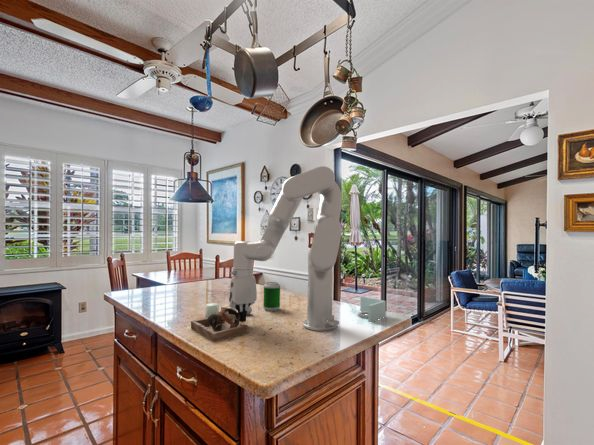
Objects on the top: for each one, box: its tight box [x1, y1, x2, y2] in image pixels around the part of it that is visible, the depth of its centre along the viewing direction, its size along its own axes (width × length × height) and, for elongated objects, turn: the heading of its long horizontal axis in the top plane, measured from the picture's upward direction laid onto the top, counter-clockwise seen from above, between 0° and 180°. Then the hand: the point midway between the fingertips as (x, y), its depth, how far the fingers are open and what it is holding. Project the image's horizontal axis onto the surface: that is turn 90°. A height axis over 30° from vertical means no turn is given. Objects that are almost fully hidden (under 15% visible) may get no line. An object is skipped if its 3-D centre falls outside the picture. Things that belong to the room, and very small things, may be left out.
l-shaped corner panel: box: [357, 295, 387, 323], centre depth 131 cm, size 12×12×8 cm
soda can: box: [262, 281, 281, 312], centre depth 140 cm, size 8×8×12 cm
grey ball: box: [247, 305, 253, 316], centre depth 131 cm, size 4×4×4 cm
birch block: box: [220, 304, 238, 319], centre depth 127 cm, size 4×4×4 cm
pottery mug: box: [207, 308, 240, 330], centre depth 111 cm, size 12×10×8 cm
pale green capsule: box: [205, 302, 220, 318], centre depth 123 cm, size 5×5×6 cm
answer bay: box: [190, 317, 248, 342], centre depth 111 cm, size 17×13×3 cm
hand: (241, 320), depth 117 cm, fingers closed
